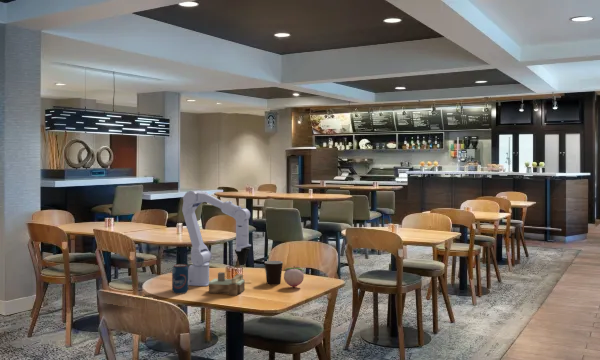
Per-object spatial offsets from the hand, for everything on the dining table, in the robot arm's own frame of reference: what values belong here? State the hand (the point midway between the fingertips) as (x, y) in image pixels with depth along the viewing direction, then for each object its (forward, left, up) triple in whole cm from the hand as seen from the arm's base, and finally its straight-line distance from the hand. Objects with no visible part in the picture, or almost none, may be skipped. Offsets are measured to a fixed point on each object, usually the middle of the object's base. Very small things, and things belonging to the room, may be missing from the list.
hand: (242, 264), depth 263 cm
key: (0, -10, -5) cm, 11 cm away
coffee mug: (+12, +12, -11) cm, 20 cm away
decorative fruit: (+23, +3, -11) cm, 26 cm away
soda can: (-25, -14, -11) cm, 30 cm away
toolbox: (-5, -10, -10) cm, 15 cm away
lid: (-4, -10, -7) cm, 13 cm away
